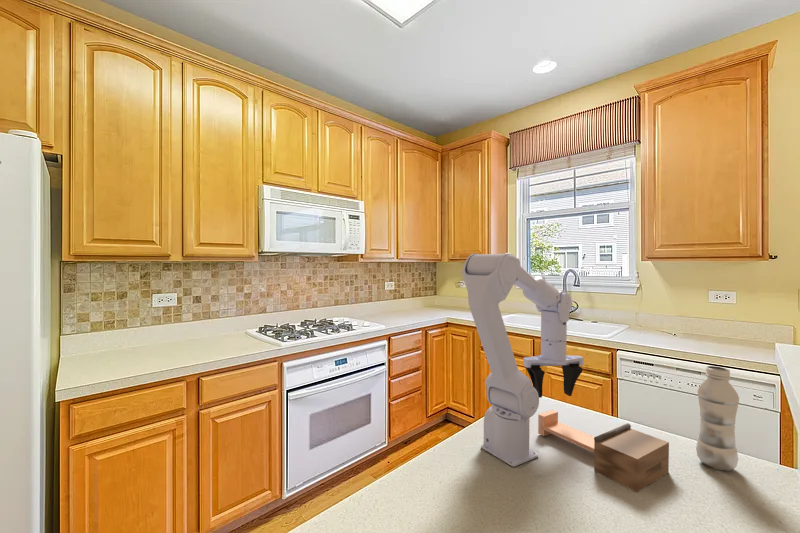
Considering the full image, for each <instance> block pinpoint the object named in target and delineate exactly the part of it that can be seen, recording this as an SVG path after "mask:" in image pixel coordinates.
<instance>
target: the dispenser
mask: <svg viewBox="0 0 800 533" xmlns="http://www.w3.org/2000/svg"><path fill="white" fill-rule="evenodd" d="M631 427H632V426H631V424H630V423H628V422H627V423H625V424H623V425H620V426H618V427H615V428H613V429H611V430H609V431H606V432H604V433H601V434H599V435H597V436H594V452H593V453H594V454H593V457H594V458H593V461H594V464H593V471H594V472H595V473H597V474H600V475H601V476H604V477H605V478H608V479H610V480H612V481H614V482H616V483H617V484H620V485H622V486H624V487H625V488H628V489H630V490H632V491H633V492H636V493H639V492H640V491H642V490H643V489H645V488H647V487H648V486H650V485H651V484H653V483H655V482H656V481H658V480H659V479H660V478H663V477H664V476H665V475H667V474H668V473H670V472H669V468H670V465H669V464H670V463H669V462H670V461H669V460H670V456H669V455H670V453H669V452H670V442H669V441H666V440H663V439H661V438H657V437H655V436H652V435H650V434H648V433H644V432H641V431H639V430H635V429H633V428H631Z"/></svg>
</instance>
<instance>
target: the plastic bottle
mask: <svg viewBox="0 0 800 533" xmlns="http://www.w3.org/2000/svg"><path fill="white" fill-rule="evenodd" d="M705 369H706V370H705V376H706V377H707V378H706V379H705V380H703V382H702V383H701V384H700V385H699V387H698V389H697V398H698V404H699V405H698V406H699V411H700V412H699V415H700V416H699V417H700V420H699V421H700V423H699V424H700V425H699V433H698V439H697V441H696V446H695V448H696V456H697V457H698V459H699V461H700V462H701V463H702V464H704V465H706V466H707V467H710V468H712V469H716V470H719V471H726V472H727V471H728V472H730V471H733V470H734V469H736V468H737V466H738V463H739V454H738V449H737V447H736V435H735V433H736V432H735V429H736V426H735V424H736V418H737V412H738V408H739V402H740V396H739V393H738V392H737V390H736V389H735V388H734V386H733V385H732V383H730V382H729V381H730V380H732V378H731V371H730V368H729V369H728V368H726V367H722V366H715V365H707V366H706V368H705Z"/></svg>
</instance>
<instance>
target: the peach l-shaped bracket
mask: <svg viewBox="0 0 800 533" xmlns="http://www.w3.org/2000/svg"><path fill="white" fill-rule="evenodd" d="M537 416H538V419H537V420H538V422H537V423H538V424H537V425H538V427H537V429H538V430H537V433H538V434H539V435H540V436H543V437H545V436H548V435H550V434H552V435H554V436H557V437H559V438H560V439H563V440H566V441H567V442H570V443H572V444H574V445H576V446H579V447H580V448H583V449H586V450H588V451H590V452H592V453H594V437H595V436H593V435H591V434H589V433H586V432H584V431H582V430H579V429H576V428H574V427H572V426H569V425H567V424H565V423H563V422H560V421H559V411H556V410H554V409H551V410H548V411H544V412H542V413H541V412H540V413H538V415H537Z"/></svg>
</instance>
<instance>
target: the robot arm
mask: <svg viewBox="0 0 800 533" xmlns="http://www.w3.org/2000/svg"><path fill="white" fill-rule="evenodd" d="M461 275H462V278H463V281H464V284H465V288H466V290H467V297H468V298H467V299H468V306H469V310H470V312H471V316H472V319H473V322H474V324H475V327H476V331H477V333H478V337H479V339H480V344H481V345H482V348H483V351H484V355H485V357H486V361H487V363H488V366H489V370H490V373H489V374H488V375H487V377H486V379H485V380H484V383H485V386H486V399H487V402H488V403H489V404H490V405H491V406H489V408H488V409H487V410H486V411H485V413H484V417H483V444H481V445H480V448H481V449H482V450H484V451H486V452H487V453H489V454H491V455H493V456H495V458H498V459H499V460H501V461H502V462H504V463H506V464H508V465H509V466H511V467H513V468H515V467H517V466H519V465H522V464H524V463H526V462H529V461H531V460H534V459H536V458H538V457H539V453H537V452H535V451H533V450H532V449H530V422H531V421H530V418H531V417H533V416H534V415H535V414H536V412H537V411H538V409H539V406H540V405H539V404H540V398H543V381H544V377H545V373H546V372H545V370H542V367H553V366H554V367H555V366H556V367H557V366H558V367H559V366H561V369H562V376H563V393H564V394H565V395H566V396H568V397H572V396H573V392H574V388H575V385H576V383H577V381H578V378H579V377H580V375H581V374H582V373H583V367H581V366H584V363H585V362H584V361H585V360H584V357H582V356H580V355H569V354H568V355H567V339H568V338H567V337H568V336H567V333H568V332H567V330H568V329H567V327H568V326H567V322H569V320H570V314H571V313H570V312H571V310H572V308H573V307H572V306H573V301H572V297H571V296H570V294H569V293H568V292H566V290H559V289H557V288H556V286H555V285H553V284H551V283H550V282H548V281H546V277H545V276H543V275H538V276H537V275H536V276H535V275H534V276H532V275H531V274H530V273H529V272H528V271H527V270H526V269H525V268H524V267H523V266H522V265H521V261H520V258H518V257H516V256H515V255H514V254H513V253H510V252H506V253H491V254H490V253H487V254H486V253H485V254H483V253H482V254H481V253H472V254H469V255H468V257H467V258H466V259H465V262H464V263H463V268H462V271H461ZM513 286H515V287H517V288H519V289H522V294H523V296H524V297H525V298H526V299H527V300H529V301H530V302H532V303H534V304H535V308H536V310H537V311H538V312H540V355H536V356H529V357H525V356H524V357H523V359H522V360H523V361H522V364H523V366H524V367H525V370H526V372H527V373H528V375H529V377H528V376H527V375H525V373H523V372H522V371H521V370H520V369H519V368H518V364H517V361H516V358H515V355H514V351H513V348H512V345H511V342H510V338H509V335H508V332H507V328H506V325H505V322H504V320H503V316H502V313H501V310H500V307H499V305H500V303H501V302H503V301H505V300H506V299H507V297H508V296H509V294H510V292H511V290H512V289H513Z"/></svg>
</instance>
